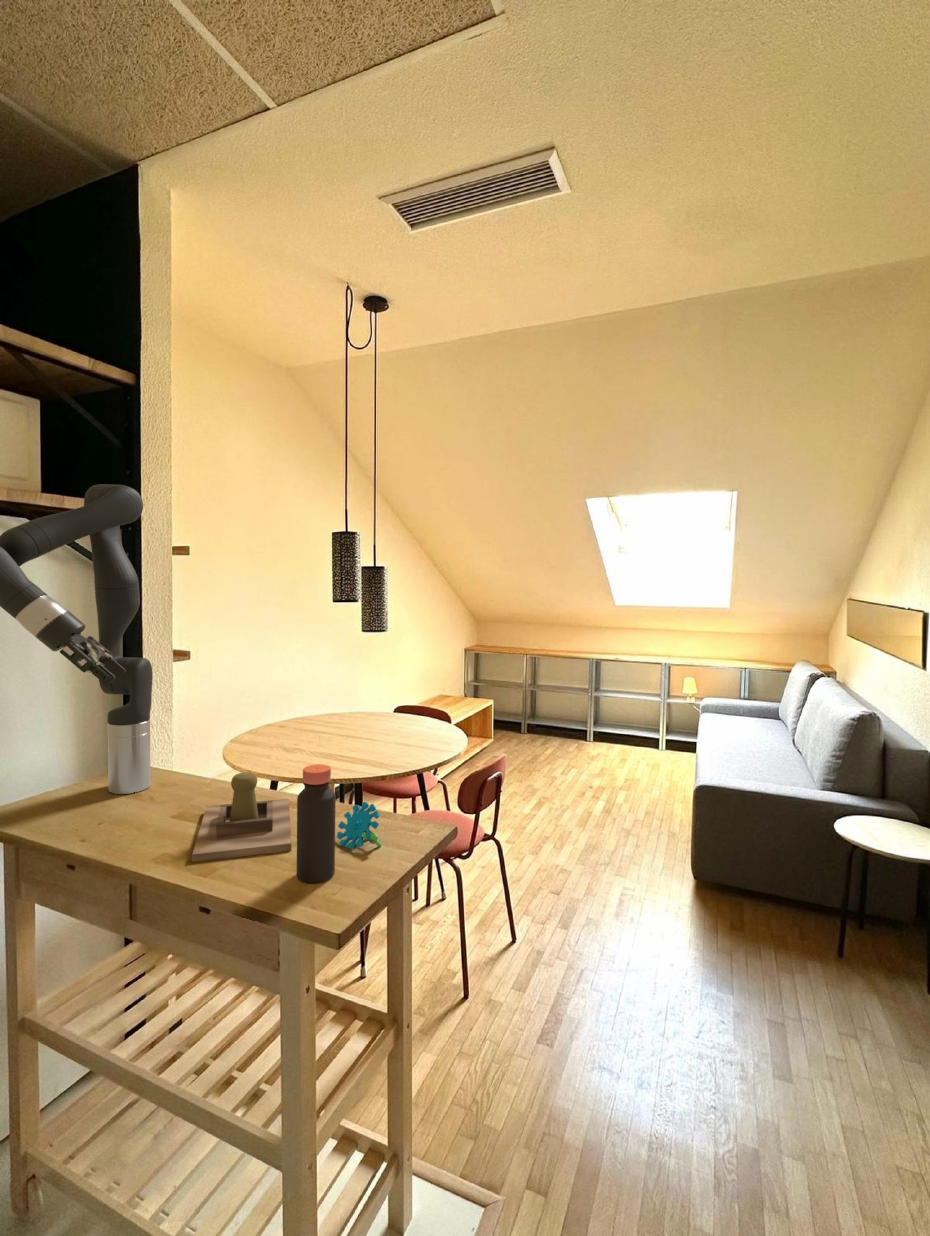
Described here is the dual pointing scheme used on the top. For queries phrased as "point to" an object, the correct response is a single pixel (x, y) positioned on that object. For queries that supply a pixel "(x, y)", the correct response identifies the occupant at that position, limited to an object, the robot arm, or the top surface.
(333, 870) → the bottle
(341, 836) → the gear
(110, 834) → the top surface
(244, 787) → the cork
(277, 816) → the jig board
